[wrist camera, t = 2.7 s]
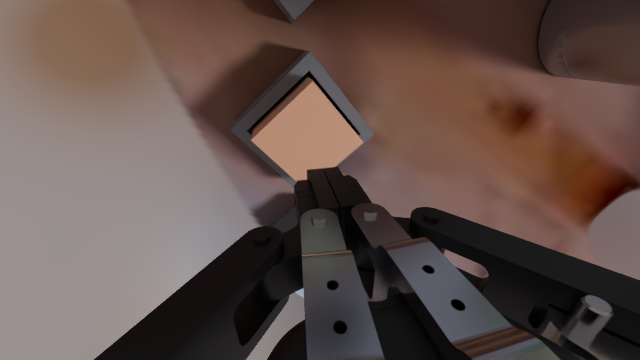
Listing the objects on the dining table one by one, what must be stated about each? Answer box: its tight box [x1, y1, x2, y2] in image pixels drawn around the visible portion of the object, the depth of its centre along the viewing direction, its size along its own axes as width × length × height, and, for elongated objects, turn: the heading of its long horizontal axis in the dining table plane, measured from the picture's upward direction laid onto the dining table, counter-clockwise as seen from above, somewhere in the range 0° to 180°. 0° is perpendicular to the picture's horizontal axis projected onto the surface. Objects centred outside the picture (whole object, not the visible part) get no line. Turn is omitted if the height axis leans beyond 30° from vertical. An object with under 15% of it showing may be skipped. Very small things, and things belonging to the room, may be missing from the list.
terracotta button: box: [251, 76, 364, 182], centre depth 19 cm, size 5×5×3 cm
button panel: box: [230, 0, 375, 233], centre depth 20 cm, size 11×36×3 cm, turn 1°
